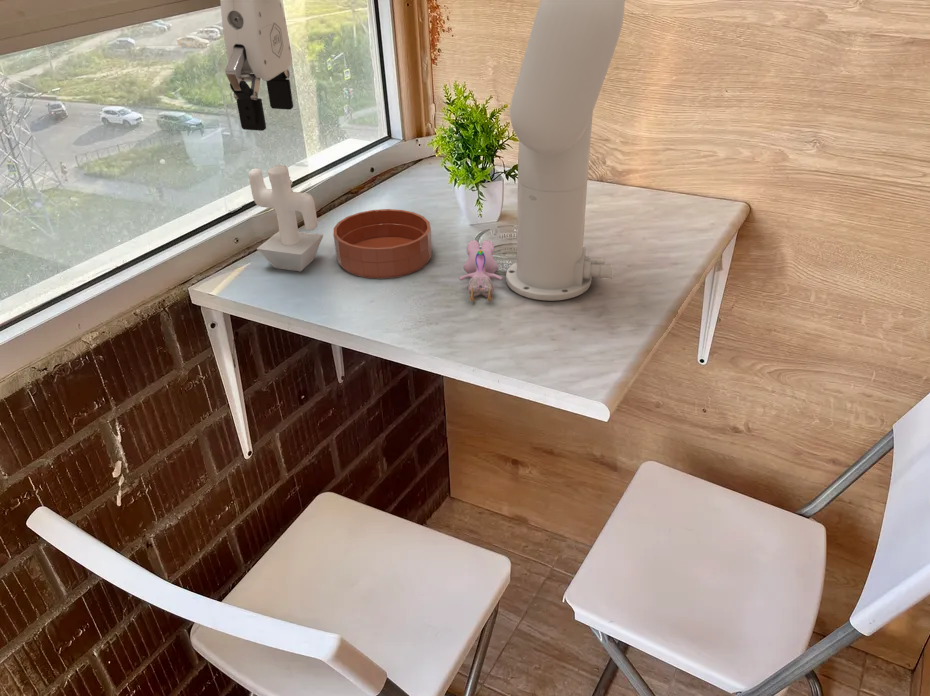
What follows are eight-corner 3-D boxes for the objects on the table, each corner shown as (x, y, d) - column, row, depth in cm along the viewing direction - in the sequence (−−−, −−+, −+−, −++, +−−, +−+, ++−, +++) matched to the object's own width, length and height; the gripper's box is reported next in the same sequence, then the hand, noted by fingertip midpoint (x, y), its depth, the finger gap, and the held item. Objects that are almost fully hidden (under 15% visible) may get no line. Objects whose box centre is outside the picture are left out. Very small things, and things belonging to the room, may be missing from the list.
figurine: (311, 278, 114) (295, 180, 105) (254, 269, 116) (234, 173, 107) (333, 257, 120) (320, 162, 111) (278, 249, 122) (261, 156, 113)
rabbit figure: (502, 310, 109) (500, 249, 120) (503, 277, 105) (500, 216, 116) (459, 311, 109) (460, 250, 120) (457, 277, 105) (459, 217, 115)
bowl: (440, 241, 125) (439, 212, 122) (420, 282, 113) (417, 251, 110) (353, 235, 126) (350, 206, 123) (324, 276, 115) (319, 245, 112)
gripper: (245, -9, 88) (270, 140, 98) (299, -30, 102) (316, 102, 112) (183, -12, 89) (214, 136, 99) (245, -32, 103) (267, 99, 113)
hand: (268, 118), depth 105 cm, fingers open, 9 cm apart
